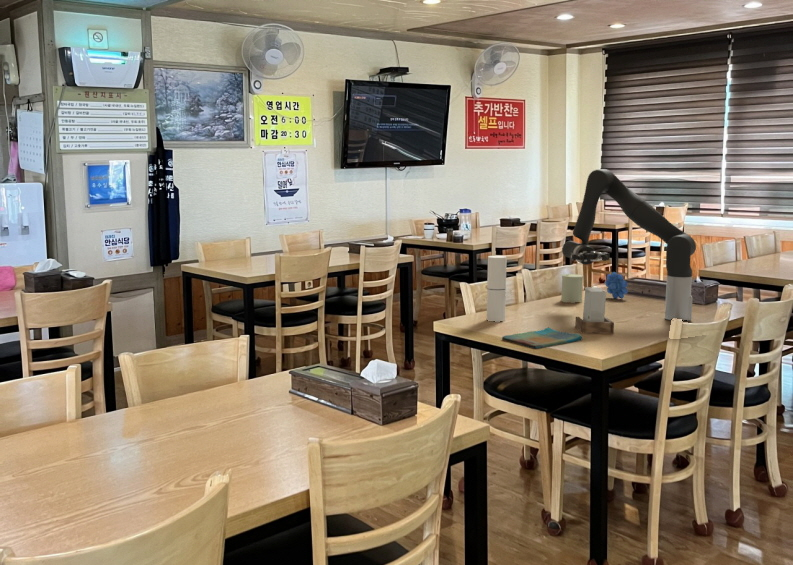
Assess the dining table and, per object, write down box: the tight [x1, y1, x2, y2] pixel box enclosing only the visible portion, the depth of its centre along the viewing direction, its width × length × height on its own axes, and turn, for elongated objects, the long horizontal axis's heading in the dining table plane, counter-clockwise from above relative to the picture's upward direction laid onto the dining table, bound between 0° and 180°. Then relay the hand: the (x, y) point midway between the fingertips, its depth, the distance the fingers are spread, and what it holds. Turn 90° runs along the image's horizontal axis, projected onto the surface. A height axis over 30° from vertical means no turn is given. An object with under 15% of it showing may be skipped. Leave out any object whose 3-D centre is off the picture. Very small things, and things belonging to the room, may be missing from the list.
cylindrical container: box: [486, 255, 508, 323], centre depth 308 cm, size 7×7×25 cm
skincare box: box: [582, 286, 607, 322], centre depth 292 cm, size 8×6×15 cm
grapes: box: [604, 271, 629, 300], centre depth 359 cm, size 12×7×12 cm, turn 43°
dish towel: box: [501, 326, 583, 350], centre depth 276 cm, size 17×23×2 cm
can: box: [560, 273, 584, 304], centre depth 352 cm, size 9×9×12 cm
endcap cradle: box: [574, 316, 615, 335], centre depth 292 cm, size 11×11×4 cm
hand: (594, 258), depth 304 cm, fingers open, 8 cm apart
